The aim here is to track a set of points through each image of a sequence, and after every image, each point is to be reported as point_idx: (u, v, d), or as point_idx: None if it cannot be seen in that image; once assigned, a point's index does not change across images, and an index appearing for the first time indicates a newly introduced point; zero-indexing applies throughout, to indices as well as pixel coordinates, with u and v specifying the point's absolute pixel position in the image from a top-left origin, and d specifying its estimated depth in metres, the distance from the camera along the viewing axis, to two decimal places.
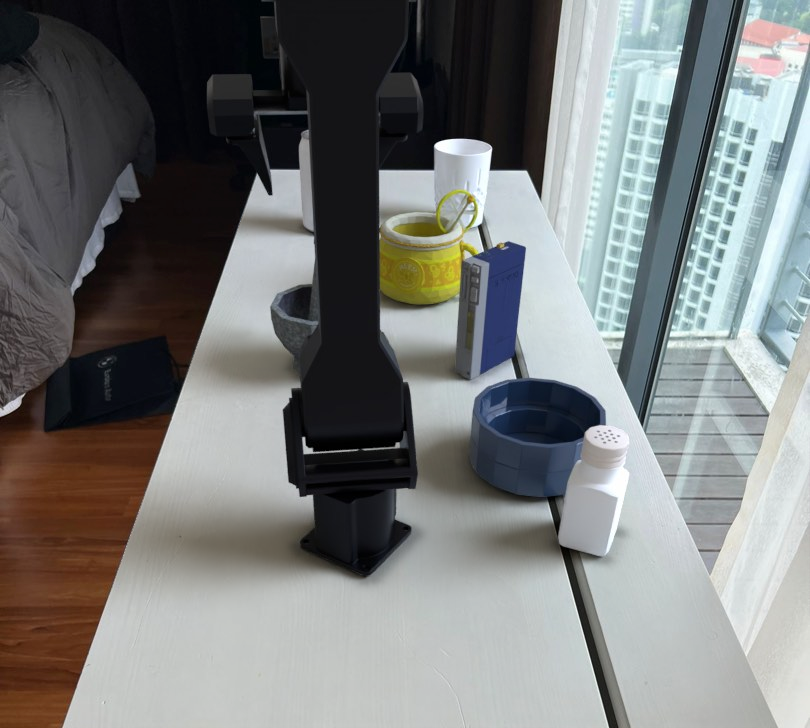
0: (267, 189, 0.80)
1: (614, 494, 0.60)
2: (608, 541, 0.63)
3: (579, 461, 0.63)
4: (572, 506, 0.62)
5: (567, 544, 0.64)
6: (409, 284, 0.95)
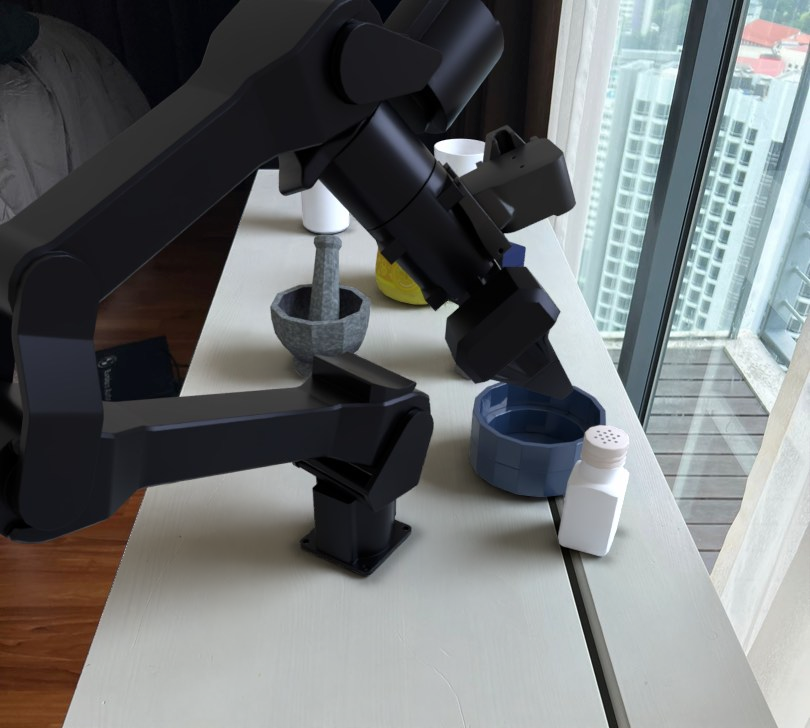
0: None
1: (614, 494, 0.60)
2: (608, 541, 0.63)
3: (579, 461, 0.63)
4: (572, 506, 0.62)
5: (567, 544, 0.64)
6: (409, 284, 0.95)
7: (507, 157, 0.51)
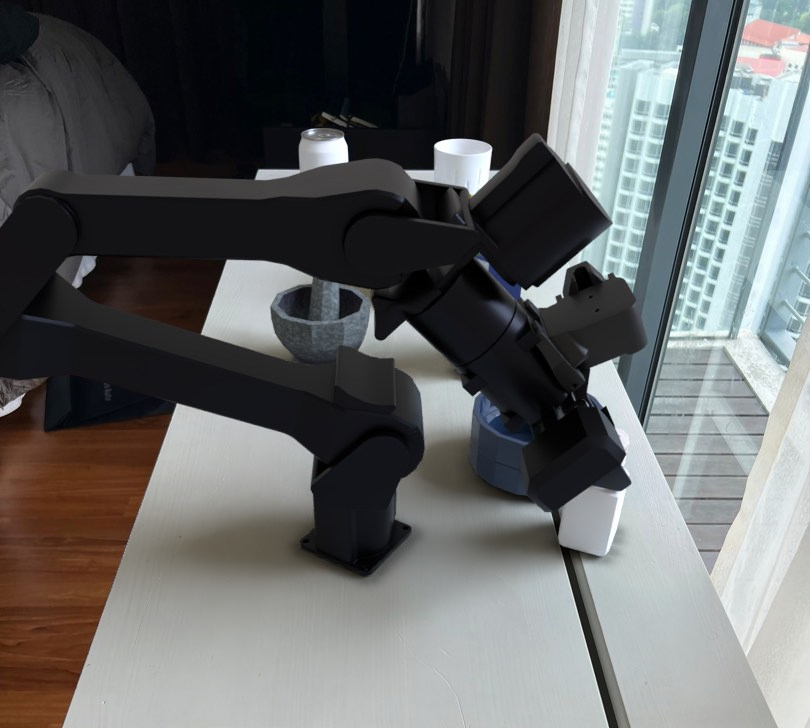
0: None
1: (614, 494, 0.60)
2: (608, 541, 0.63)
3: None
4: (572, 506, 0.62)
5: (567, 544, 0.65)
6: None
7: (584, 295, 0.55)
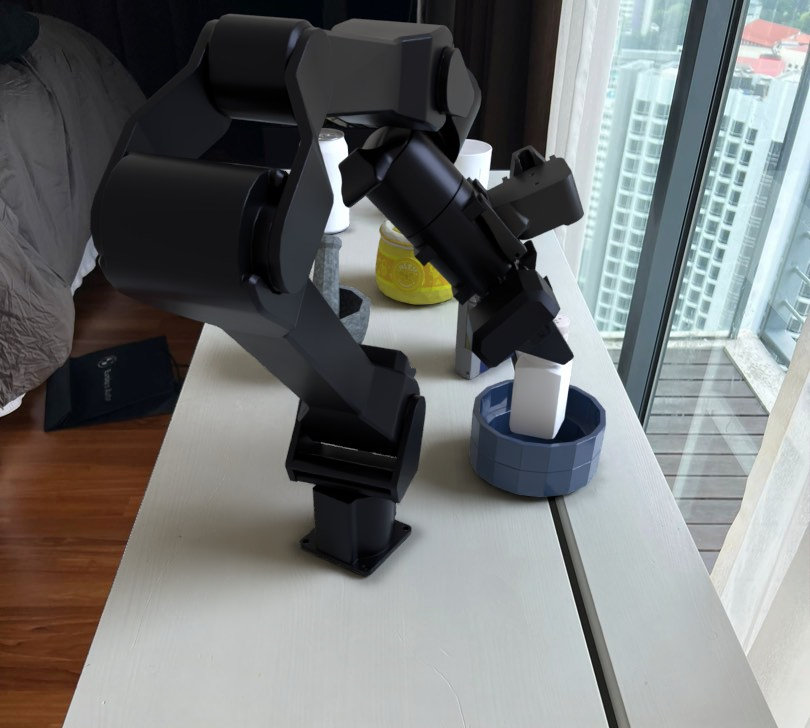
0: None
1: (558, 373, 0.65)
2: (555, 422, 0.68)
3: None
4: (520, 389, 0.67)
5: (518, 429, 0.69)
6: (409, 284, 0.95)
7: (527, 174, 0.59)
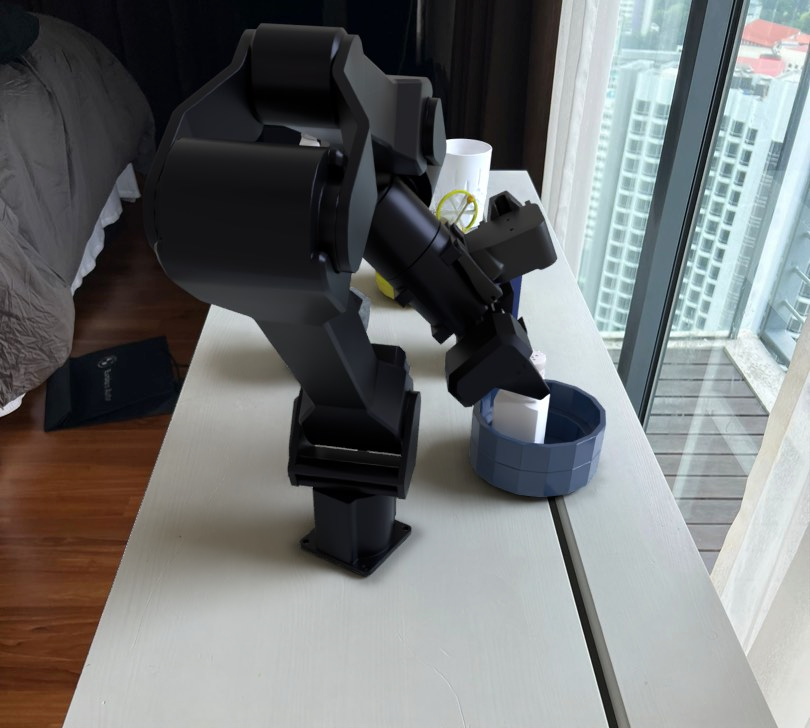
0: None
1: (535, 408, 0.67)
2: None
3: None
4: (499, 422, 0.69)
5: None
6: None
7: (503, 219, 0.62)
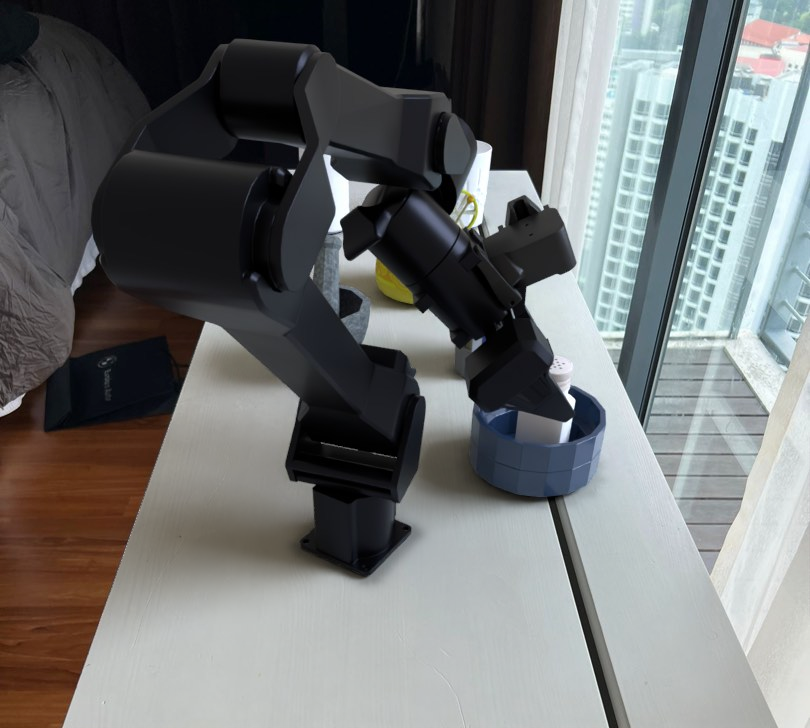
0: None
1: None
2: None
3: None
4: (523, 429, 0.69)
5: None
6: None
7: (522, 223, 0.62)
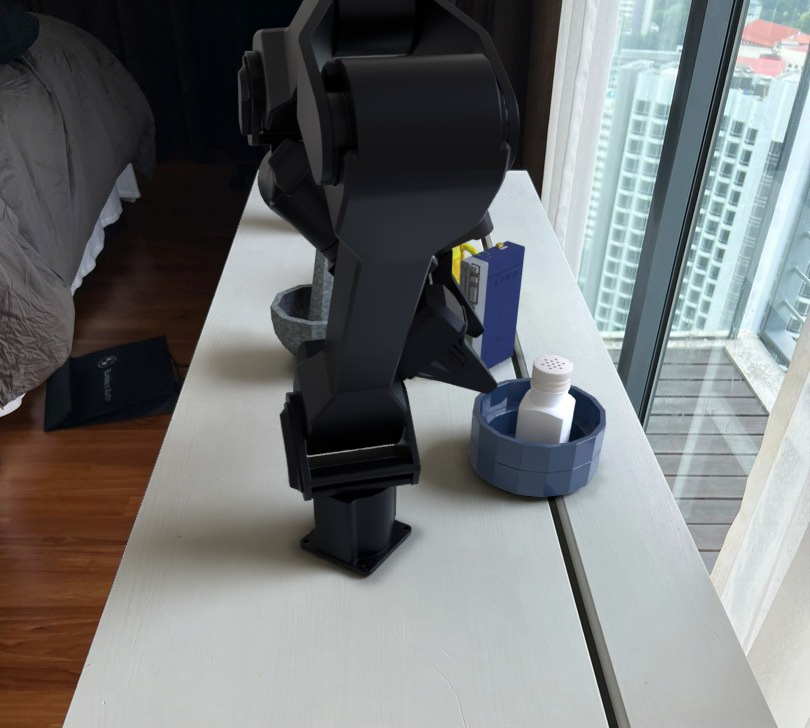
0: (465, 332, 0.71)
1: (560, 416, 0.67)
2: None
3: (531, 389, 0.70)
4: (523, 429, 0.69)
5: None
6: None
7: None
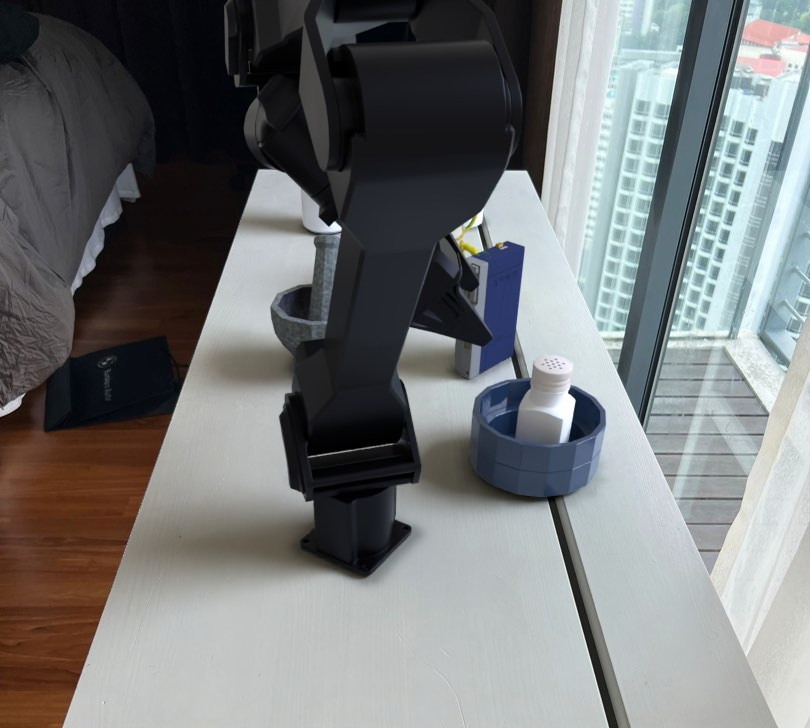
0: (460, 286, 0.70)
1: (560, 416, 0.67)
2: None
3: (531, 389, 0.70)
4: (523, 429, 0.69)
5: None
6: None
7: None
